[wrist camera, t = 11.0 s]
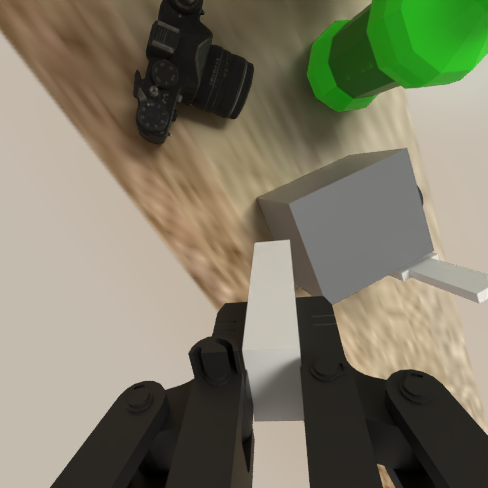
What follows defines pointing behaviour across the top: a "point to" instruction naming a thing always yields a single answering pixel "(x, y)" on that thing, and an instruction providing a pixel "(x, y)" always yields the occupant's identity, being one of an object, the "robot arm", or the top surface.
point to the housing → (350, 222)
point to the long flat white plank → (446, 277)
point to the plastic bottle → (397, 49)
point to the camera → (187, 71)
